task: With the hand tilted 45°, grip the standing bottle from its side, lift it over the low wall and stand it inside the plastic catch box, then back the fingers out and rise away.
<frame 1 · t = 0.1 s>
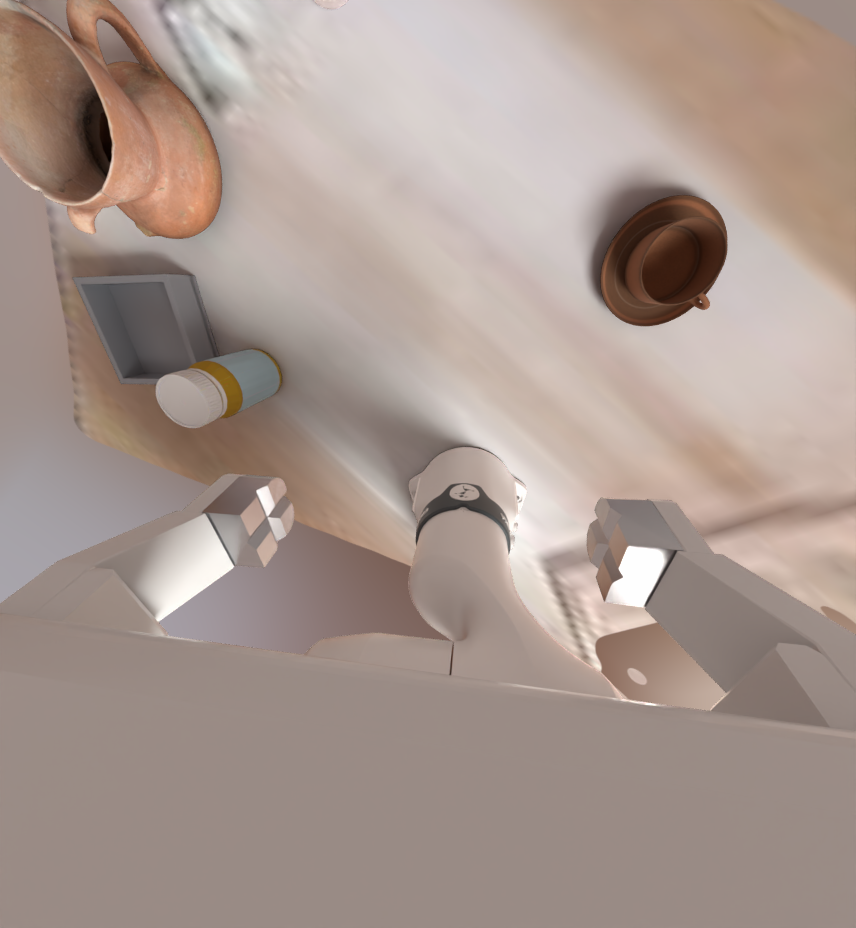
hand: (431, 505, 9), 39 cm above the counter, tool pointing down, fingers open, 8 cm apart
cup and saucer: (652, 267, 37), on the counter
ceramic jug: (179, 164, 39), on the counter
bottle: (262, 372, 49), on the counter
catch box: (169, 330, 48), on the counter
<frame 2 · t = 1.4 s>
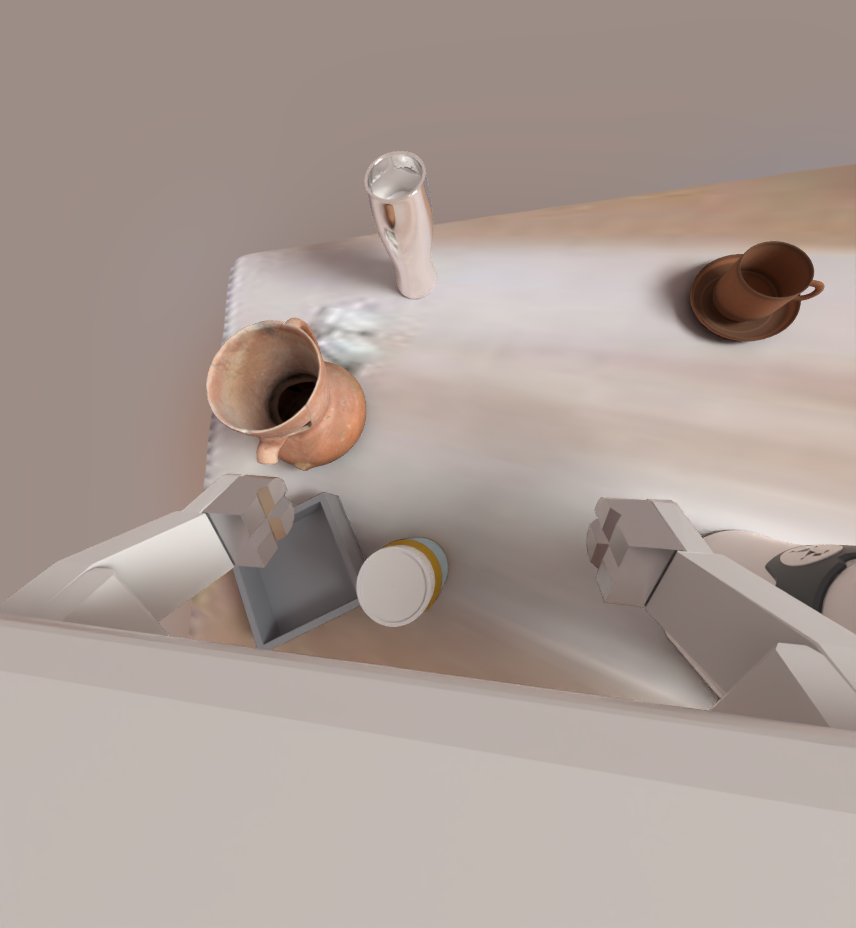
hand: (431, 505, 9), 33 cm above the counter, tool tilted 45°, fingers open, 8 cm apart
cup and saucer: (731, 307, 43), on the counter
ceramic jug: (324, 417, 47), on the counter
bottle: (420, 566, 41), on the counter
beer glass: (417, 282, 49), on the counter
catch box: (310, 566, 42), on the counter
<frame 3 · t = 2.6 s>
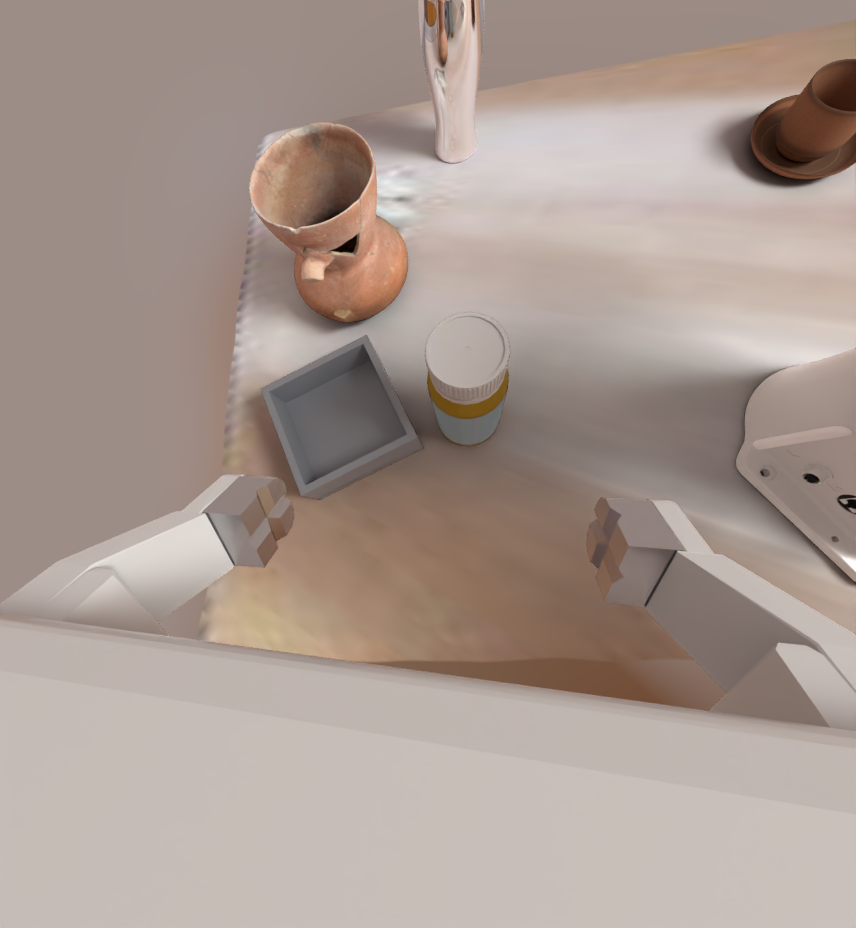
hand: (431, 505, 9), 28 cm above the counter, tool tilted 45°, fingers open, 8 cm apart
cup and saucer: (793, 153, 41), on the counter
ceramic jug: (360, 282, 44), on the counter
bottle: (468, 419, 39), on the counter
beer glass: (456, 148, 47), on the counter
catch box: (349, 425, 40), on the counter
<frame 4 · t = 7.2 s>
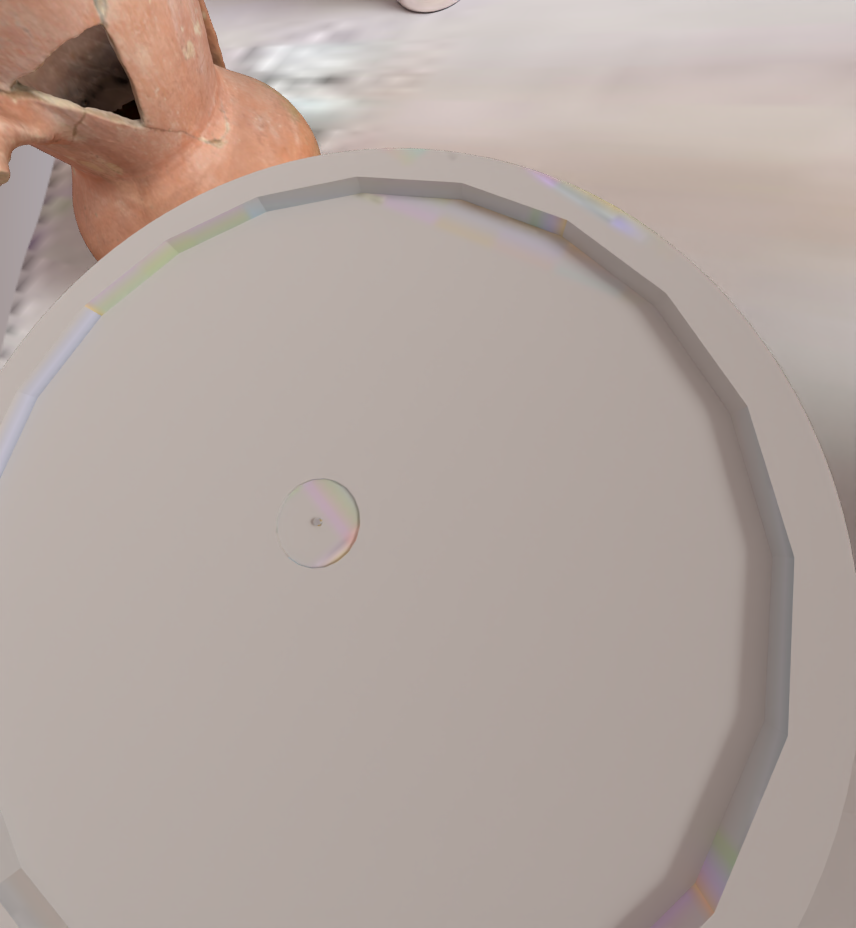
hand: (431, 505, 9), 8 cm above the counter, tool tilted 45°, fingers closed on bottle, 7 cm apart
ceramic jug: (243, 233, 23), on the counter
bottle: (449, 530, 17), on the counter, touching gripper
when the fingers open (11 cm above the counter, at t = 13.6 s): bottle stays where it is, resting on catch box.
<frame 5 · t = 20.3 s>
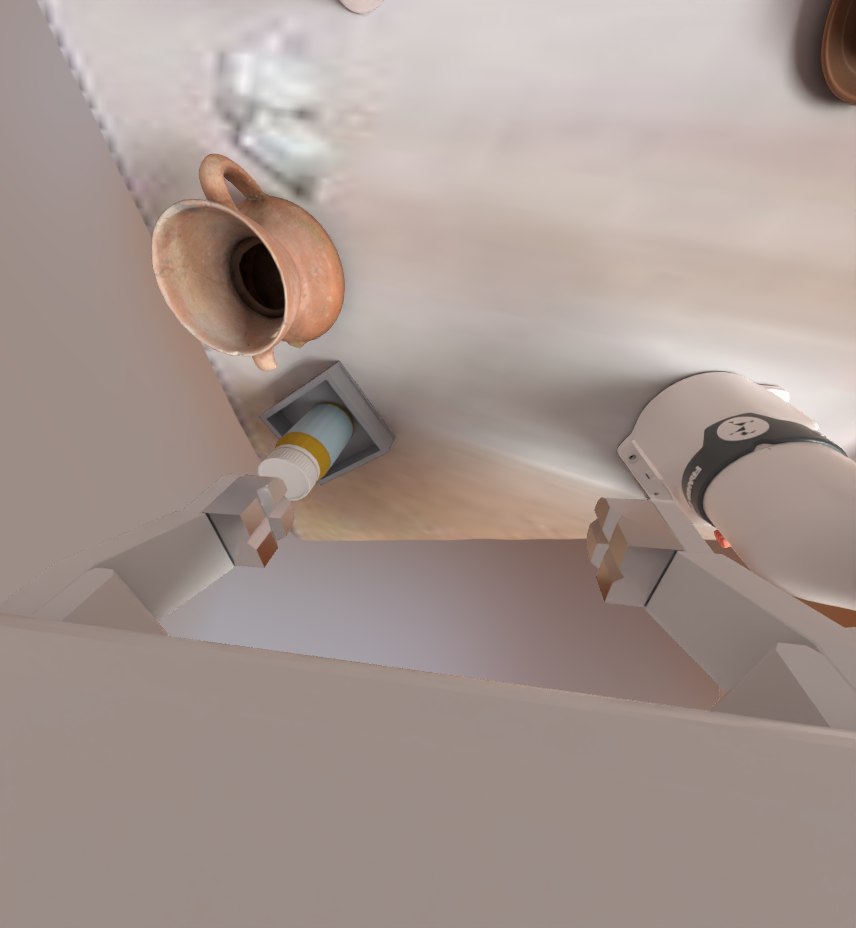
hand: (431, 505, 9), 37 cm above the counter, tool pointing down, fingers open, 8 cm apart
ceramic jug: (295, 269, 40), on the counter
bottle: (333, 421, 50), point 1 cm above the counter, touching catch box
catch box: (335, 420, 51), on the counter
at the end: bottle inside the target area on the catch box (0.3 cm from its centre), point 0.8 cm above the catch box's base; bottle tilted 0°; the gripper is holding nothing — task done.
